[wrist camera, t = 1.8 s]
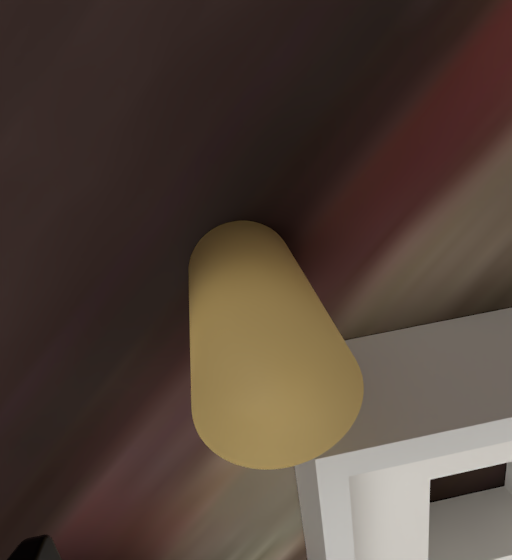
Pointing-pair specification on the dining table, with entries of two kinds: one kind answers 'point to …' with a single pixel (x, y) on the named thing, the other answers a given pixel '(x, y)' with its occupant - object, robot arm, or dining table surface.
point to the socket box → (418, 448)
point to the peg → (264, 353)
